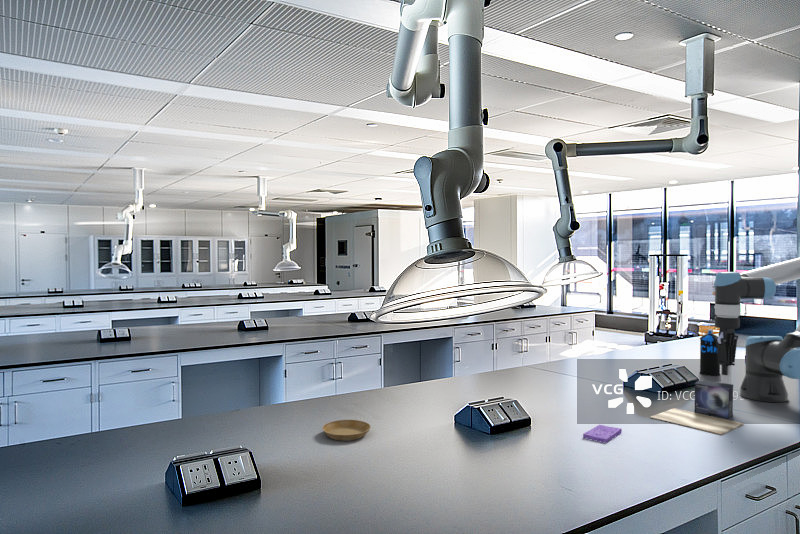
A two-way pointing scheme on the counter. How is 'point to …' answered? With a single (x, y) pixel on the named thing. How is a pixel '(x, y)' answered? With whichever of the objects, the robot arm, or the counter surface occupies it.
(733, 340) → the robot arm
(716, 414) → the small box
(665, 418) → the tan flat board
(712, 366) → the aerosol can
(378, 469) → the counter surface
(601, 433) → the sponges
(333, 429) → the plant saucer
